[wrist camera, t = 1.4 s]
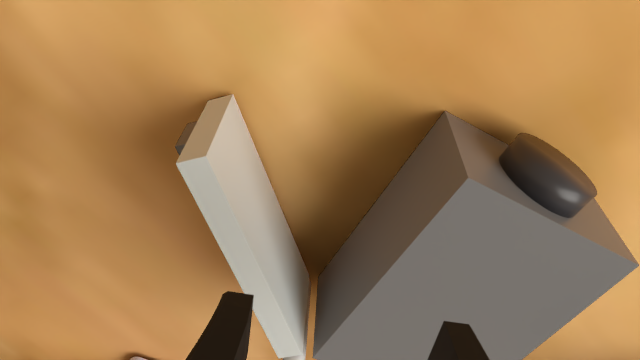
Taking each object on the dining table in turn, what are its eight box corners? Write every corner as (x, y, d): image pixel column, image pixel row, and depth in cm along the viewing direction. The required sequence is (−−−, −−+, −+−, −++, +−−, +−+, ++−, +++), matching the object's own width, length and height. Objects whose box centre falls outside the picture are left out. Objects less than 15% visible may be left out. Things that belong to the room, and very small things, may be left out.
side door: (314, 288, 24) (308, 367, 21) (284, 293, 25) (274, 373, 21) (232, 94, 19) (205, 156, 15) (195, 103, 19) (160, 167, 16)
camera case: (440, 328, 26) (456, 412, 22) (318, 277, 24) (312, 357, 21) (605, 170, 20) (663, 245, 17) (461, 89, 19) (489, 152, 15)
